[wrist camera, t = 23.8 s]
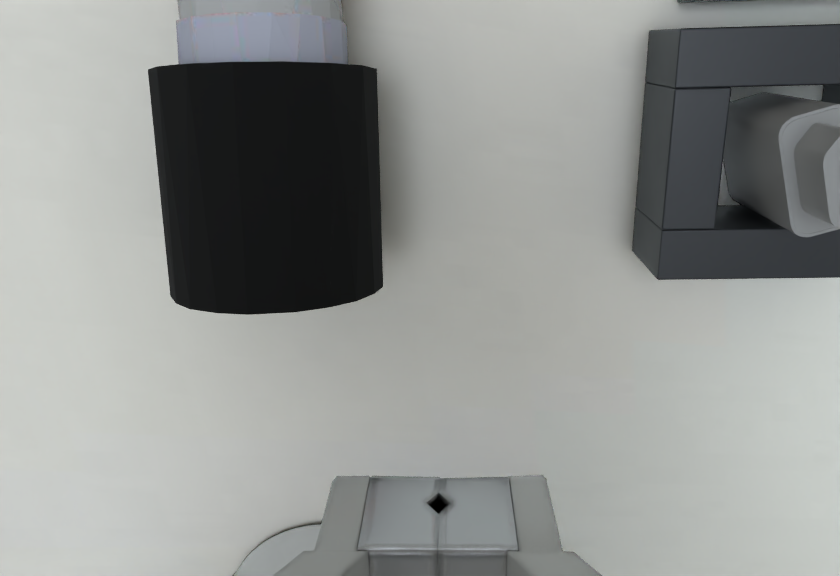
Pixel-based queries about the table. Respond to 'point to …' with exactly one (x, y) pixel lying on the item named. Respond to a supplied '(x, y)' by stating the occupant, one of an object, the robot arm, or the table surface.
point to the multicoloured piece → (267, 159)
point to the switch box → (705, 0)
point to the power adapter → (785, 160)
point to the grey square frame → (721, 152)
